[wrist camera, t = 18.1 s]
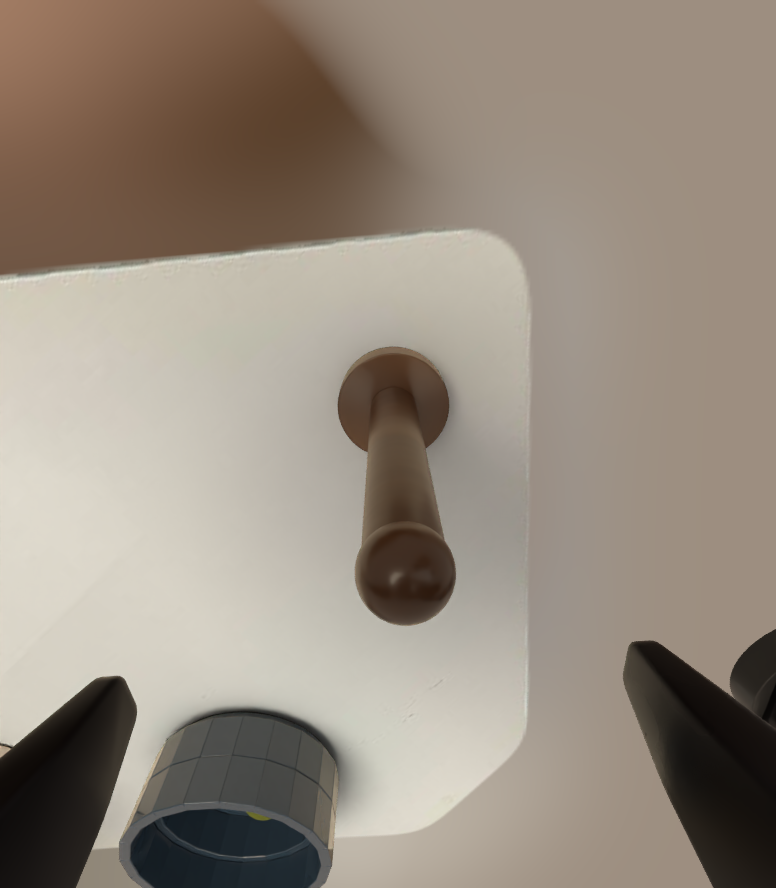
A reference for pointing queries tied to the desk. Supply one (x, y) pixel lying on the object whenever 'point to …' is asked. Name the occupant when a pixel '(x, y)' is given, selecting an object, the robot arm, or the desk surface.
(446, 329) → the desk surface
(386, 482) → the stirring stick
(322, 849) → the bowl
